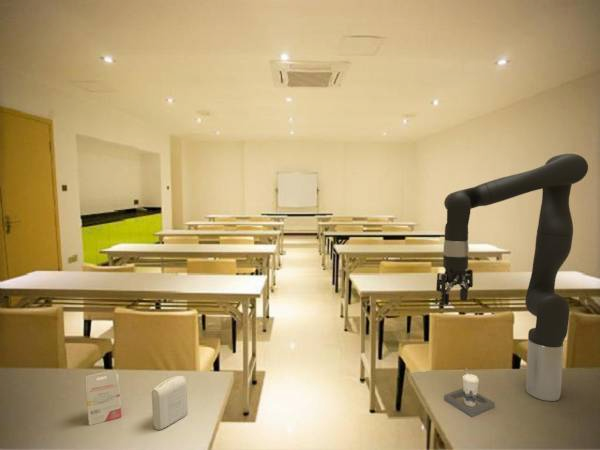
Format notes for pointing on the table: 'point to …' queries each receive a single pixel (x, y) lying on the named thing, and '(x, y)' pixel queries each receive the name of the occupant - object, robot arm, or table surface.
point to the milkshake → (470, 389)
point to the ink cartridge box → (103, 397)
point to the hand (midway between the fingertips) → (454, 302)
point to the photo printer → (169, 402)
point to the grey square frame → (470, 411)
